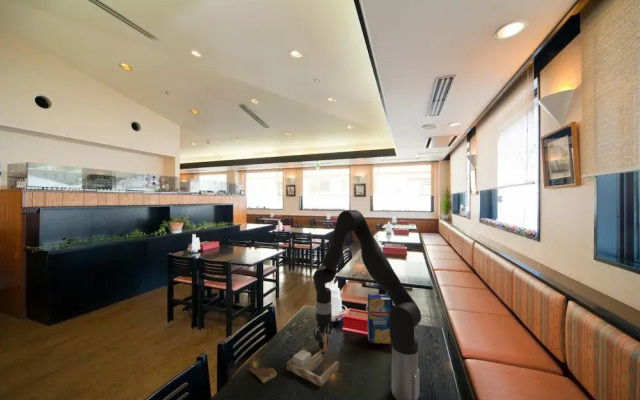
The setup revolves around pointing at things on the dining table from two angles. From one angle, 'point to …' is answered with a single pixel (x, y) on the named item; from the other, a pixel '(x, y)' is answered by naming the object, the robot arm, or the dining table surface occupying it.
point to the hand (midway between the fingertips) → (323, 346)
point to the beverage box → (379, 318)
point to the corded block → (308, 355)
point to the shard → (264, 373)
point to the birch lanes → (308, 369)
